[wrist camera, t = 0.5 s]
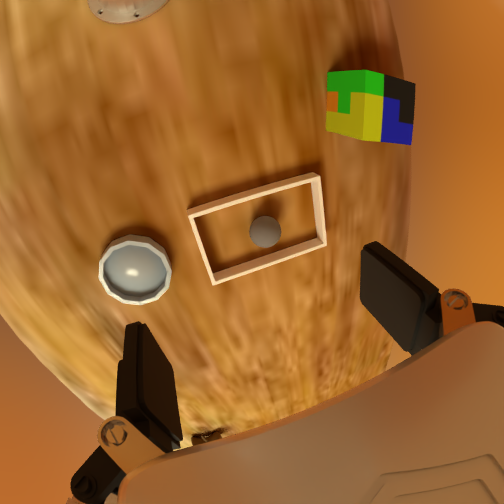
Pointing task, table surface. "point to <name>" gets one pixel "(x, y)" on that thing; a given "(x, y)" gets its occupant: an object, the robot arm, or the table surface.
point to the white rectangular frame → (276, 256)
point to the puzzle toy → (370, 106)
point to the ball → (265, 231)
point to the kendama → (205, 439)
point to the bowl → (135, 269)
